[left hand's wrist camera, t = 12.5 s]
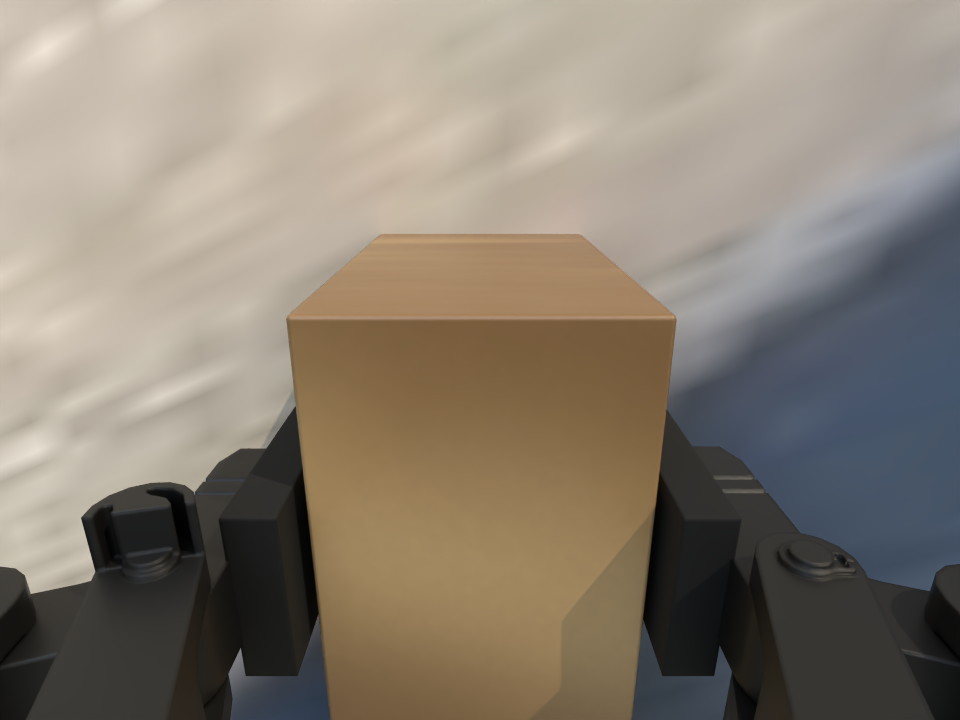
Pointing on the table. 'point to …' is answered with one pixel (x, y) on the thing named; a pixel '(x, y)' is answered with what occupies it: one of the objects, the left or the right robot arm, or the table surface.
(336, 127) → the table surface
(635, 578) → the beam
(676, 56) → the table surface
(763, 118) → the table surface
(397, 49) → the table surface
